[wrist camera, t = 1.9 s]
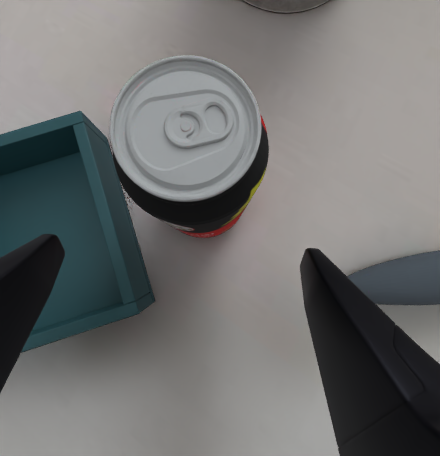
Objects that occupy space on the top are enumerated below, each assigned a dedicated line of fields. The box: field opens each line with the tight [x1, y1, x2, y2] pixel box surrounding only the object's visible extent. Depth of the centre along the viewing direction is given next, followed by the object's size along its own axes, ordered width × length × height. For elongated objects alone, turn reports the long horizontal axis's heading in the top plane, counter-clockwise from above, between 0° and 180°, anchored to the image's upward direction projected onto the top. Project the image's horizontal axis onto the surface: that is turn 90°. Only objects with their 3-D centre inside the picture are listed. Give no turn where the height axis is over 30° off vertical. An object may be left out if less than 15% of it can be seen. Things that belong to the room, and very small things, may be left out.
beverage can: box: [109, 55, 269, 238], centre depth 15 cm, size 6×6×12 cm
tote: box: [0, 111, 155, 353], centre depth 18 cm, size 14×13×4 cm
